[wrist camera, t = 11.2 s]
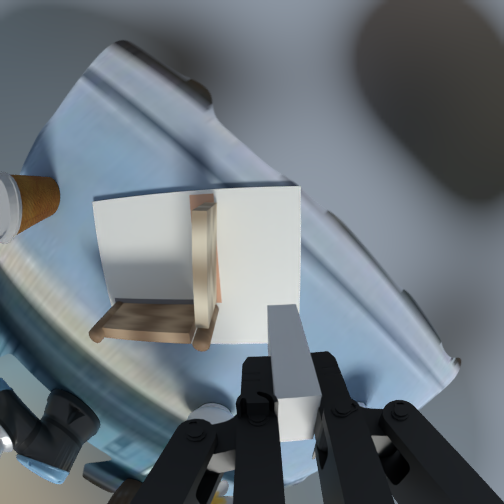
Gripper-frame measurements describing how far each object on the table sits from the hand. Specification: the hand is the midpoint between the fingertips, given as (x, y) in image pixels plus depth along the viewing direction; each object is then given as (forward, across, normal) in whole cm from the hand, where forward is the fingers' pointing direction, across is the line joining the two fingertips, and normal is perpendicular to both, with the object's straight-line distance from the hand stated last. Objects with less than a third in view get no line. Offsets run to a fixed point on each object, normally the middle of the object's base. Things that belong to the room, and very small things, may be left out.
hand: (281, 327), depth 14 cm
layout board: (+21, +10, +5) cm, 24 cm away
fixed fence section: (+21, +15, +10) cm, 27 cm away
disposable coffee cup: (+22, +34, -8) cm, 41 cm away
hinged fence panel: (+20, +7, +2) cm, 21 cm away
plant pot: (+22, +45, +84) cm, 97 cm away
